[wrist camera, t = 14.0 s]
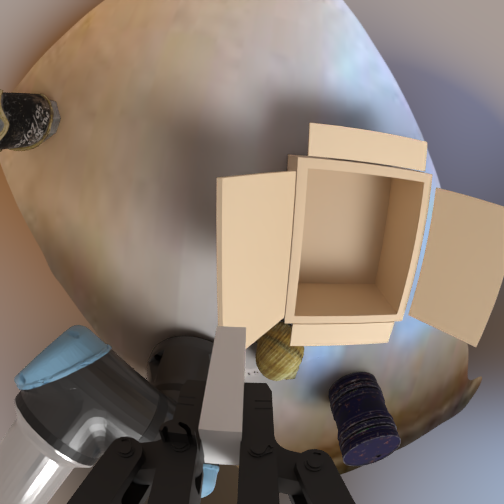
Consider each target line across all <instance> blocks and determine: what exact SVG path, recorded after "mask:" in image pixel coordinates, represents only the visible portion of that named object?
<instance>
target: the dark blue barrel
mask: <svg viewBox="0 0 504 504" xmlns="http://www.w3.org/2000/svg"><path fill="white" fill-rule="evenodd" d="M329 400H330V407H331V411H332V413H333V417H334V420H335V421H336V424H337V428H338V440H339V446H340V450H341V452H342V455H343V456H342V457H343V461H344V463H345V464H346V465H349V466H363V465H367V464H371V463H374V462H377V461H379V460H381V459H383V458H385V457H387V456H389V455H390V454H392V453H393V452H394V451H395V450H396V449H397V448H398V447H399V445H400V443H401V440H400V437H399V435H398V432H397V428H396V425H395V423H394V421H393V418H392V416H391V415H390V413H388V410H387V408H386V405H385V400H384V397H383V394H382V391H381V388H380V387H379V385H378V383H377V380H376V378H375V377H374V376H373V375H372V374H370V373H366V372H357V373H352V374H349V375H346V376H344V377H342V378H341V379H339V380H338V381H337V382H335V383H334V384H333V385H332V387H331V388H330V390H329Z"/></svg>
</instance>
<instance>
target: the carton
mask: <svg viewBox="0 0 504 504" xmlns="http://www.w3.org/2000/svg"><path fill="white" fill-rule="evenodd" d="M426 155H427V142H425V141H420V140H416V139H412V138H407V137H402V136H397V135H392V134H387V133H381V132H376V131H370V130H363V129H357V128H350V127H343V126H335V125H327V124H317V123H309V140H308V156H304V155H290V154H288V163H287V171H296V180H295V196H294V211H293V225H292V238H291V250H290V262H289V273H288V284H287V294H286V305H285V314H284V323H293V324H292V332H291V339H290V346H331V345H356V344H374V343H388V340H389V337H390V334H391V331H392V328H393V325H394V321H402V319H403V315H404V312H405V309H406V305H407V302H408V298H409V295H410V291H411V288H412V284H413V280H414V276H415V272H416V268H417V263H418V259H419V255H420V250H421V245H422V240H423V235H424V230H425V224H426V218H427V212H428V206H429V199H430V191H431V183H432V174H428V173H424V172H420V171H415V170H421V171H425V167H426ZM316 156H317V157H316ZM327 157H328V158H327ZM337 158H338V159H337ZM346 159H347V160H346ZM370 162H371V163H370ZM384 164H385V165H384ZM397 166H398V167H397ZM402 167H404V168H402ZM407 168H410V169H407ZM411 169H415V170H411Z"/></svg>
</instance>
